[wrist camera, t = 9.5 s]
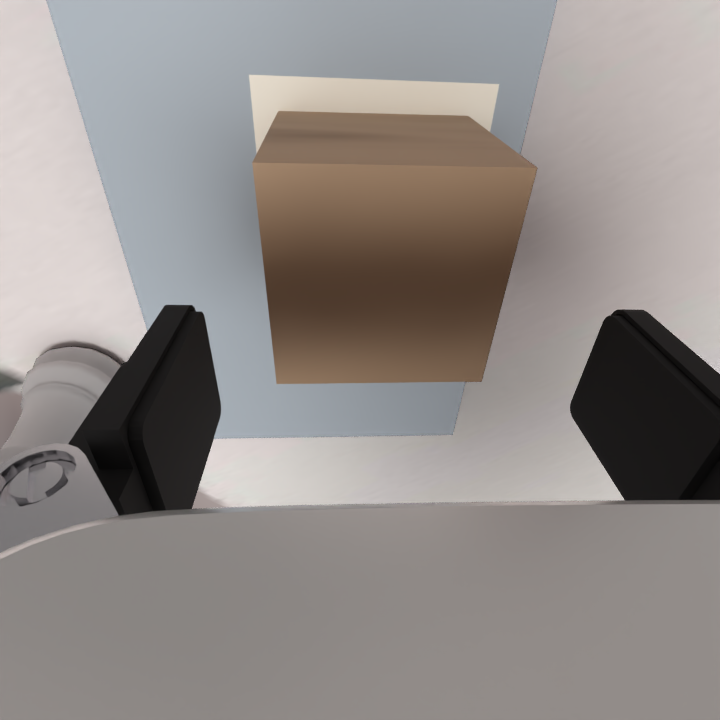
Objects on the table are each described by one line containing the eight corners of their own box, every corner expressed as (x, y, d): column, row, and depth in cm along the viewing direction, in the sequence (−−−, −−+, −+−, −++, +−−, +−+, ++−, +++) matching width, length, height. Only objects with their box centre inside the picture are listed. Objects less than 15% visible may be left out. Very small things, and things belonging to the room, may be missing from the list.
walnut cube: (441, 284, 18) (481, 381, 13) (290, 283, 18) (276, 384, 13) (468, 115, 14) (537, 167, 10) (278, 110, 14) (252, 162, 9)
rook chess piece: (65, 323, 20) (-60, 471, 13) (156, 378, 22) (86, 528, 15) (20, 378, 21) (-110, 533, 15) (109, 424, 23) (28, 576, 17)
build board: (448, 418, 25) (452, 435, 24) (186, 421, 24) (180, 439, 23) (575, -154, 12) (598, -169, 11) (10, -197, 11) (-21, -217, 10)
